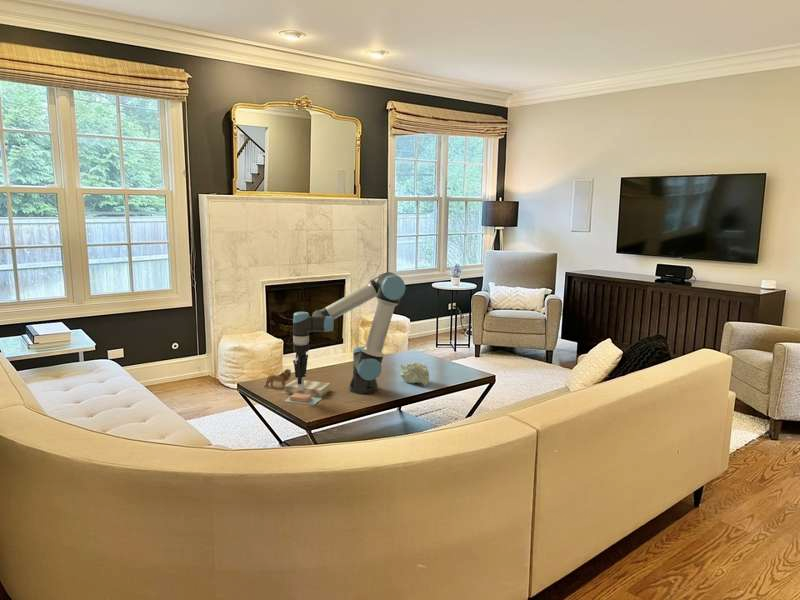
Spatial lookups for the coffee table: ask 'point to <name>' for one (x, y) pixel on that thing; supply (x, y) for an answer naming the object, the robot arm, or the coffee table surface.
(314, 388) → the plate
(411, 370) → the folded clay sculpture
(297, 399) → the tile
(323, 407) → the coffee table surface
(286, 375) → the lion figurine
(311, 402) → the mat
